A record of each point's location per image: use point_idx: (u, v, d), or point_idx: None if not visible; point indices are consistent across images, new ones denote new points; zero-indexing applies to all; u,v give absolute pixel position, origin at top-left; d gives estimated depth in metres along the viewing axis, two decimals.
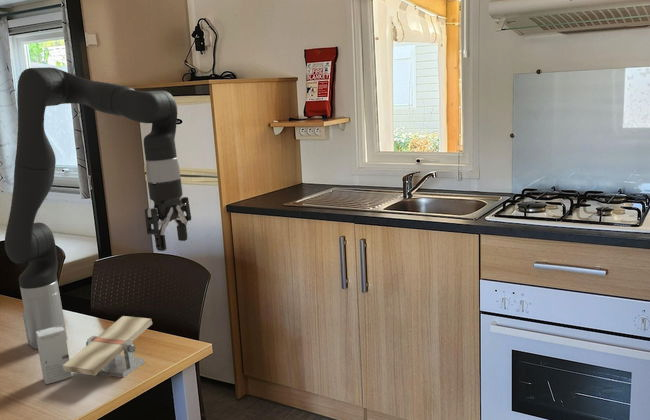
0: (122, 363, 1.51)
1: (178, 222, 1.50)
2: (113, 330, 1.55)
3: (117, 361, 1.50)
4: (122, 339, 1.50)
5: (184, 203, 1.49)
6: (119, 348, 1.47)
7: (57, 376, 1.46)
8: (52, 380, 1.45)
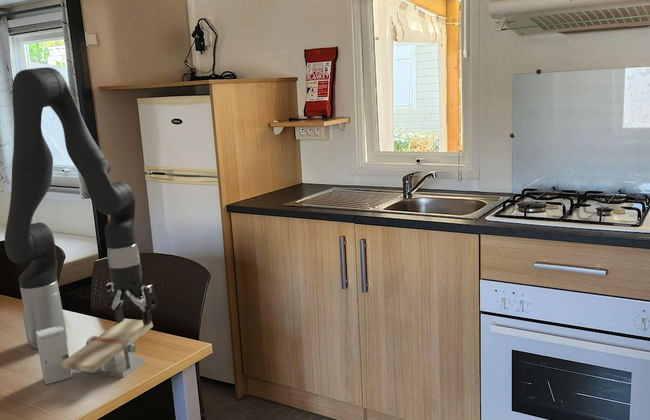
0: (122, 363, 1.51)
1: (116, 305, 1.58)
2: (113, 331, 1.55)
3: (117, 361, 1.50)
4: (122, 339, 1.50)
5: None
6: (119, 347, 1.47)
7: (57, 376, 1.46)
8: (52, 380, 1.45)
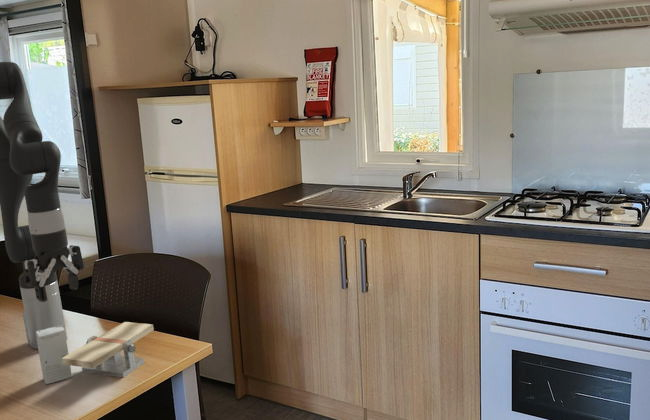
0: (122, 363, 1.51)
1: None
2: (114, 332, 1.55)
3: (117, 361, 1.50)
4: (122, 339, 1.50)
5: None
6: (119, 347, 1.47)
7: (57, 376, 1.46)
8: (52, 380, 1.45)
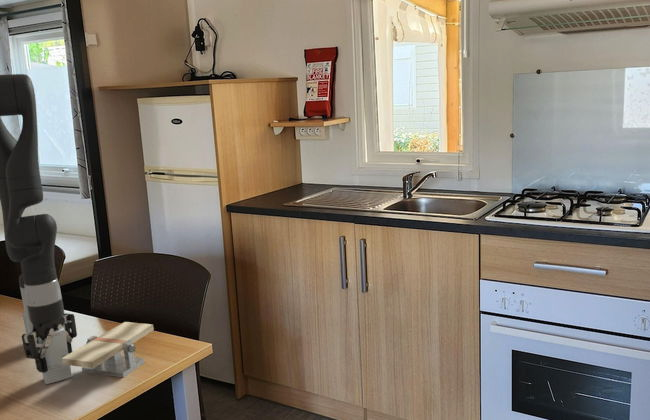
0: (122, 363, 1.51)
1: None
2: (114, 332, 1.55)
3: (117, 361, 1.50)
4: (122, 339, 1.50)
5: None
6: (119, 347, 1.47)
7: (57, 376, 1.46)
8: (52, 380, 1.45)
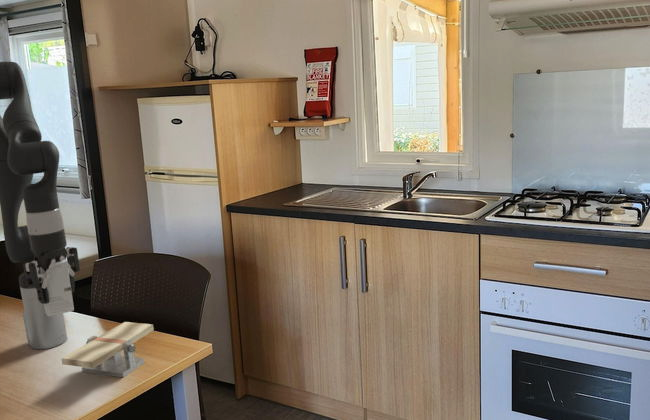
0: (122, 363, 1.51)
1: None
2: (114, 332, 1.55)
3: (117, 361, 1.50)
4: (122, 339, 1.50)
5: None
6: (119, 347, 1.47)
7: (59, 309, 1.43)
8: (53, 312, 1.42)
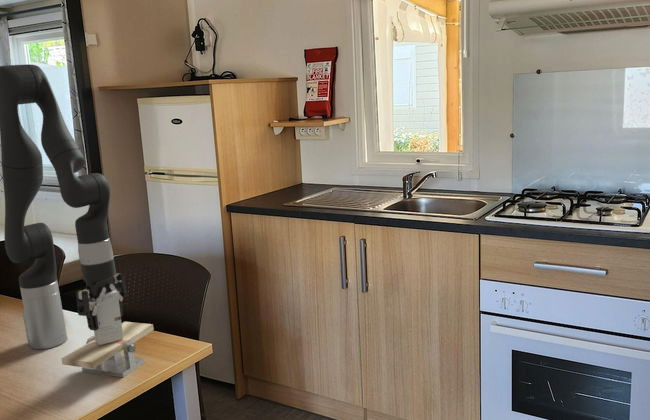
0: (122, 363, 1.51)
1: None
2: None
3: (117, 361, 1.50)
4: (122, 339, 1.50)
5: None
6: (119, 347, 1.47)
7: (109, 338, 1.48)
8: (104, 341, 1.47)
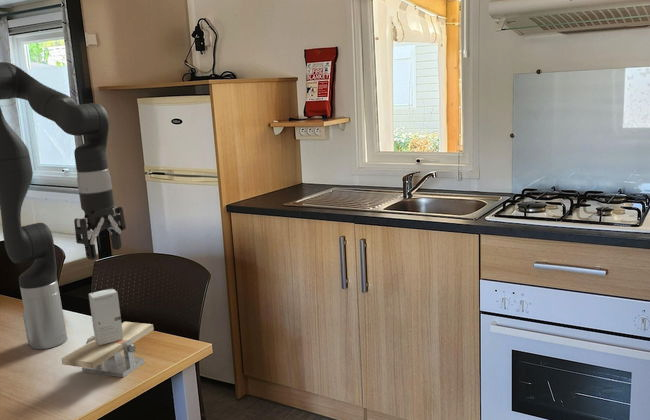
0: (122, 363, 1.51)
1: None
2: None
3: (117, 361, 1.50)
4: (122, 339, 1.50)
5: None
6: (119, 347, 1.47)
7: (109, 338, 1.48)
8: (104, 341, 1.47)
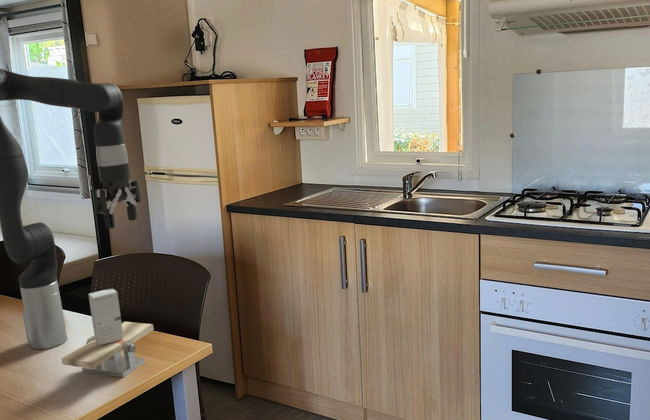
0: (122, 363, 1.51)
1: None
2: None
3: (117, 361, 1.50)
4: (122, 339, 1.50)
5: None
6: (119, 347, 1.47)
7: (109, 338, 1.48)
8: (104, 341, 1.47)
